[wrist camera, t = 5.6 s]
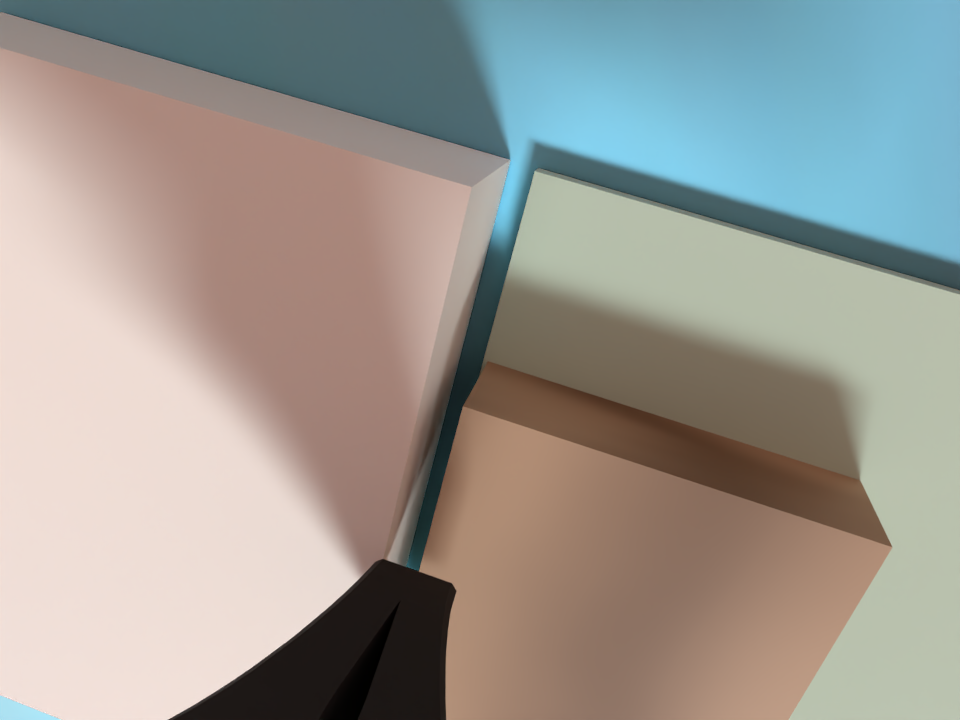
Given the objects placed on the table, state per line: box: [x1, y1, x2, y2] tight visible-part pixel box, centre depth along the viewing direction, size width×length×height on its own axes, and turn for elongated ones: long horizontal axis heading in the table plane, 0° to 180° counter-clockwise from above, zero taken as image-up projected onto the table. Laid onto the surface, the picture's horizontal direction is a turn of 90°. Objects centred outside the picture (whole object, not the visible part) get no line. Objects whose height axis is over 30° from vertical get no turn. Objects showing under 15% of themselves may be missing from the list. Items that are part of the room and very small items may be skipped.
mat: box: [479, 168, 960, 720], centre depth 15 cm, size 12×14×1 cm
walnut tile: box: [419, 361, 892, 720], centre depth 14 cm, size 7×7×2 cm
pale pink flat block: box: [0, 12, 511, 720], centre depth 15 cm, size 10×14×3 cm
